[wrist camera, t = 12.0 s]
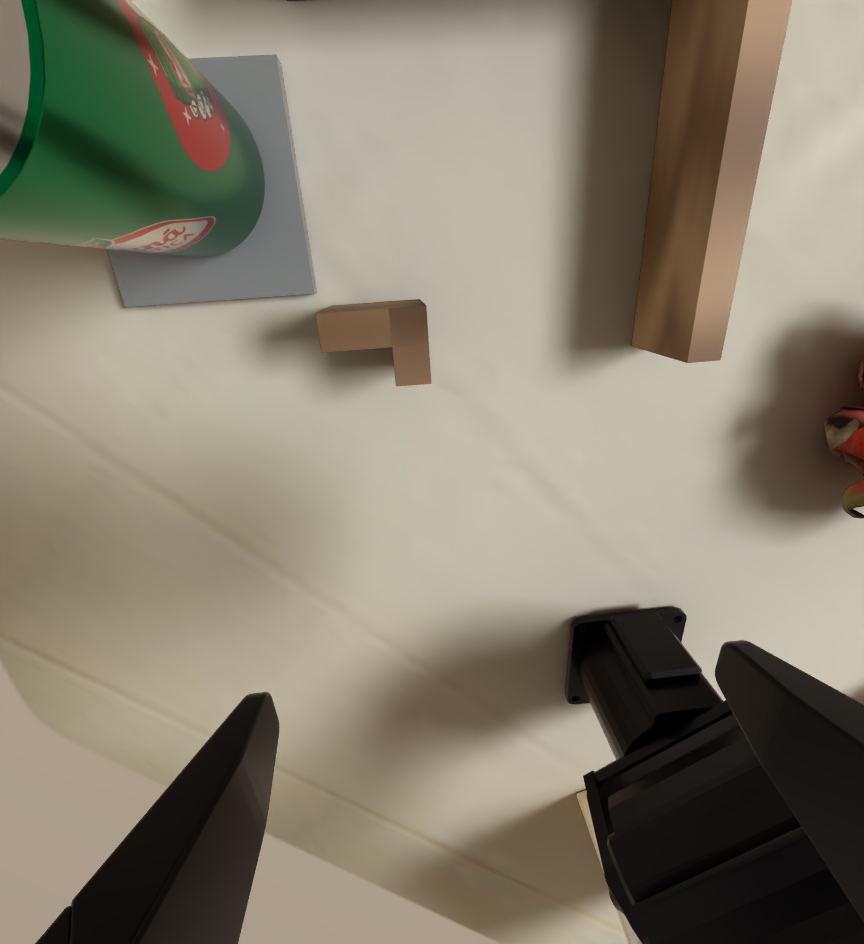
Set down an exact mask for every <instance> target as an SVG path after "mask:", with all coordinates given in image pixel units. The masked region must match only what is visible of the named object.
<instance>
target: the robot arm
mask: <svg viewBox="0 0 864 944" xmlns="http://www.w3.org/2000/svg"><path fill="white" fill-rule="evenodd" d="M685 623H686V615H685V613H684V612H683V611H682V610H681V609H680V608H666V609H657V610H647V611H638V612H628V613H619V614H609V615H600V616H590V617H581V618H577V619H575V620H574V621H573V622H572V623H571V630H570V642H569V654H568V666H567V678H566V690H565V696H566V698H567V701H568V702H569V703H570V704H582V703H591V705H592V708H593V710H594V712H595V714H596V716H597V719H598V721H599V723H600V725H601V727H602V729H603V732H604V734H605V736H606V738H607V740H608V743H609V745H610V747H611V749H612V751H613V754H614V756H615V758H616V761H614V762H612V763H610V764H608V765H607V766H605V767H603V768H601V769H599V770H598V771H596V772H594V771H591V772H589V773H587V774H586V775H584V776H583V778H584V782H585V786H586V791H587V794H586V796H587V801H588V805H589V810H590V814H591V818H592V823H593V827H594V831H595V836H596V840H597V844H598V849H599V853H600V857H601V862H602V866H603V870H604V875H605V879H606V882H607V884H608V886H609V895H610V898H611V900H612V902H613V904H614V906H615V908H616V909H617V910H619V911H620V912H622V913H623V914H624V915H625V917H626V919H627V920H628V922H629V924H630V926H631V928H632V929H633V931H634V932H635V934H636V935H637V937H638V938H639V940H640V941H641V943H642V944H864V705H863V704H861V703H859V702H857V701H856V700H854V699H852V698H850V697H848V696H847V695H845V694H843V693H841V692H839V691H838V690H836V689H834V688H832V687H830V686H828V685H827V684H825V683H823V682H821V681H819V680H818V679H816V678H814V677H812V676H810V675H808V674H807V673H805V672H803V671H801V670H799V669H798V668H796V667H794V666H792V665H790V664H789V663H787V662H785V661H783V660H781V659H779V658H778V657H776V656H774V655H772V654H770V653H769V652H767V651H765V650H763V649H761V648H760V647H758V646H756V645H754V644H752V643H750V642H748V641H744V640H739V641H730V642H725V643H724V644H723V645H722V647H721V650H720V654H719V658H718V661H717V665H716V669H715V677H716V681H717V683H718V686H719V687H720V689H721V691H722V693H723V695H724V697H725V699H726V700H725V701H723V700H722V699H721V697H720V696H719V695H718V693H717V692H716V691H715V690H714V688H713V687H712V686H711V684H710V683H709V682H708V680H707V679H706V678H705V677H704V675H703V674H702V673H701V672H702V670H701V668H700V666H699V665H698V664H697V663H696V661H695V660H694V659H693V657H692V656H691V655H690V654H689V652H688V651H687V650H686V648H685V647H684V646H683V645H682V643H681V641H682V636H683V632H684V627H685ZM581 626H582V627H581ZM579 627H581V628H579ZM278 737H279V720H278V716H277V713H276V710H275V706H274V703H273V700H272V697H271V695H270V694H269V693H268V692H263V693H253V694H249V695H247V696H246V697H244V699H243V700H242V701H241V702H240V703H239V704H238V706H237V707H236V708H235V709H234V710H233V711H232V713H231V714H230V715H229V716H228V717H227V719H226V720H225V721H224V722H223V723H222V724H221V726H220V727H219V728H218V729H217V730H216V731H215V733H214V734H213V735H212V736H211V737H210V739H209V740H208V741H207V742H206V743H205V744H204V746H203V747H202V748H201V749H200V750H199V752H198V753H197V754H196V755H195V756H194V757H193V759H192V760H191V761H190V762H189V763H188V764H187V766H186V767H185V768H184V769H183V770H182V772H181V773H180V774H179V775H178V776H177V777H176V779H175V780H174V781H173V782H172V783H171V785H170V786H169V787H168V788H167V789H166V790H165V792H164V793H163V794H162V795H161V796H160V798H159V799H158V800H157V801H156V802H155V803H154V805H153V806H152V807H151V808H150V809H149V810H148V812H147V813H146V814H145V815H144V816H143V818H142V819H141V820H140V821H139V822H138V824H137V825H136V826H135V827H134V828H133V829H132V831H131V832H130V833H129V834H128V835H127V836H126V838H125V839H124V840H123V841H122V842H121V844H120V845H119V846H118V847H117V848H116V849H115V851H114V852H113V853H112V854H111V855H110V856H109V858H108V859H107V860H106V861H105V863H104V864H103V865H102V866H101V867H100V868H99V869H98V871H97V872H96V873H95V874H94V876H93V877H92V878H91V879H90V880H89V881H88V882H87V884H86V885H85V886H84V887H83V888H82V890H81V891H80V892H79V893H78V894H77V895H76V897H75V898H74V899H73V901H72V903H71V906H68V907H66V908H65V909H64V911H63V912H62V913H61V914H60V915H59V916H58V918H57V919H56V920H55V921H54V923H52V925H51V926H50V927H49V928H48V929H47V930H46V932H45V933H44V934H43V935H42V936H41V938H40V939H39V940H38V941H37V942H36V943H35V944H238V941H239V936H240V933H241V928H242V924H243V920H244V916H245V911H246V907H247V903H248V899H249V895H250V891H251V886H252V882H253V878H254V874H255V870H256V866H257V861H258V857H259V853H260V849H261V845H262V841H263V835H264V831H265V827H266V821H267V815H268V809H269V802H270V795H271V787H272V780H273V773H274V766H275V759H276V752H277V744H278Z"/></svg>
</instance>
